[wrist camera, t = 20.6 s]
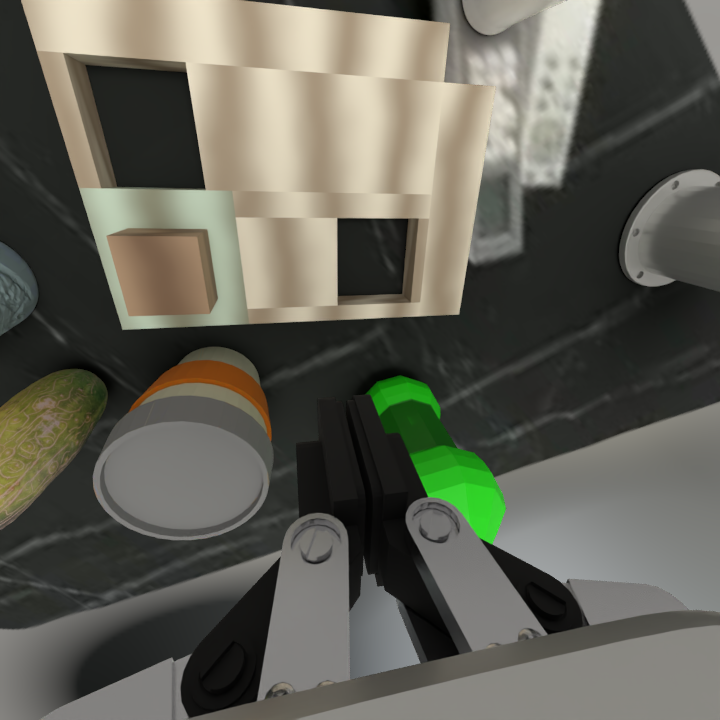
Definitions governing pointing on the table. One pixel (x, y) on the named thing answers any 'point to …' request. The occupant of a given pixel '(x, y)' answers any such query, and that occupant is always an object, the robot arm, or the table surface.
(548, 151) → the table surface
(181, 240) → the block
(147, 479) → the reusable coffee cup
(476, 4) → the drinking glass
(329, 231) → the board
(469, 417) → the table surface
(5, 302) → the drinking glass
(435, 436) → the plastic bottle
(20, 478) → the vegetable
